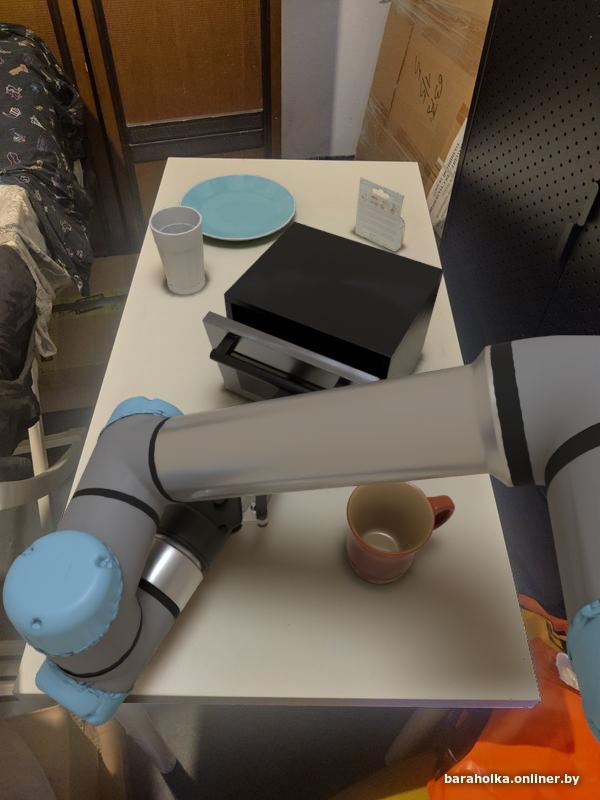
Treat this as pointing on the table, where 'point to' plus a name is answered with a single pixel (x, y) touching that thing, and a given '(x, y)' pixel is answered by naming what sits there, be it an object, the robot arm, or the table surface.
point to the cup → (180, 247)
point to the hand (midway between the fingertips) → (287, 394)
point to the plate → (240, 206)
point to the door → (272, 362)
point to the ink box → (380, 216)
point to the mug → (391, 527)
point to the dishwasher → (339, 300)
